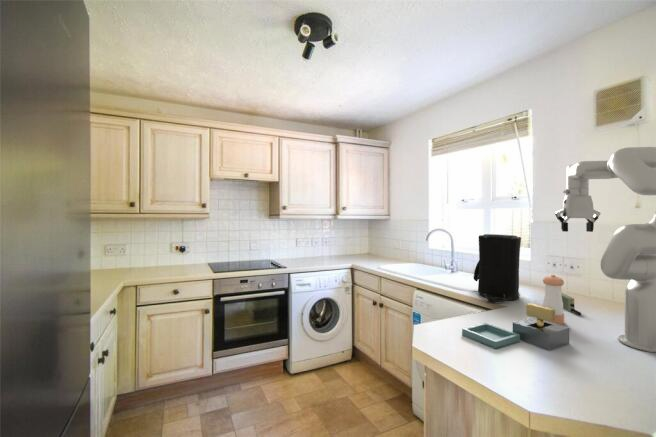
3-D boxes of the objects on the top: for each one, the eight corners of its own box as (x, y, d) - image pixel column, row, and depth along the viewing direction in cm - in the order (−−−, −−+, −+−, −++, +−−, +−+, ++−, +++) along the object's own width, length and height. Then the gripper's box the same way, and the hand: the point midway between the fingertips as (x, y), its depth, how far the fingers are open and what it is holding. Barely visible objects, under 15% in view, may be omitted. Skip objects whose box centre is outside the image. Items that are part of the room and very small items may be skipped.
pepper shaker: (568, 324, 120) (568, 277, 120) (547, 323, 121) (547, 276, 121) (558, 318, 127) (558, 273, 127) (538, 317, 129) (539, 273, 128)
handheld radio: (553, 300, 155) (584, 316, 130) (546, 300, 155) (575, 316, 131) (552, 288, 155) (583, 301, 130) (545, 288, 155) (575, 301, 131)
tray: (519, 341, 104) (519, 334, 104) (495, 349, 98) (495, 341, 98) (485, 329, 115) (485, 322, 115) (462, 335, 109) (462, 328, 109)
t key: (555, 344, 102) (555, 309, 102) (550, 345, 101) (551, 310, 100) (530, 335, 109) (530, 303, 109) (526, 337, 108) (526, 304, 108)
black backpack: (514, 290, 175) (514, 233, 175) (536, 306, 144) (537, 236, 144) (472, 288, 181) (472, 232, 181) (484, 303, 150) (485, 236, 150)
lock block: (569, 343, 102) (569, 327, 102) (549, 350, 97) (549, 334, 97) (532, 331, 113) (532, 317, 113) (512, 337, 107) (512, 322, 107)
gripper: (560, 192, 130) (560, 231, 130) (606, 191, 127) (605, 232, 127) (550, 193, 137) (550, 231, 137) (593, 193, 134) (593, 231, 134)
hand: (577, 231), depth 132 cm, fingers open, 9 cm apart
